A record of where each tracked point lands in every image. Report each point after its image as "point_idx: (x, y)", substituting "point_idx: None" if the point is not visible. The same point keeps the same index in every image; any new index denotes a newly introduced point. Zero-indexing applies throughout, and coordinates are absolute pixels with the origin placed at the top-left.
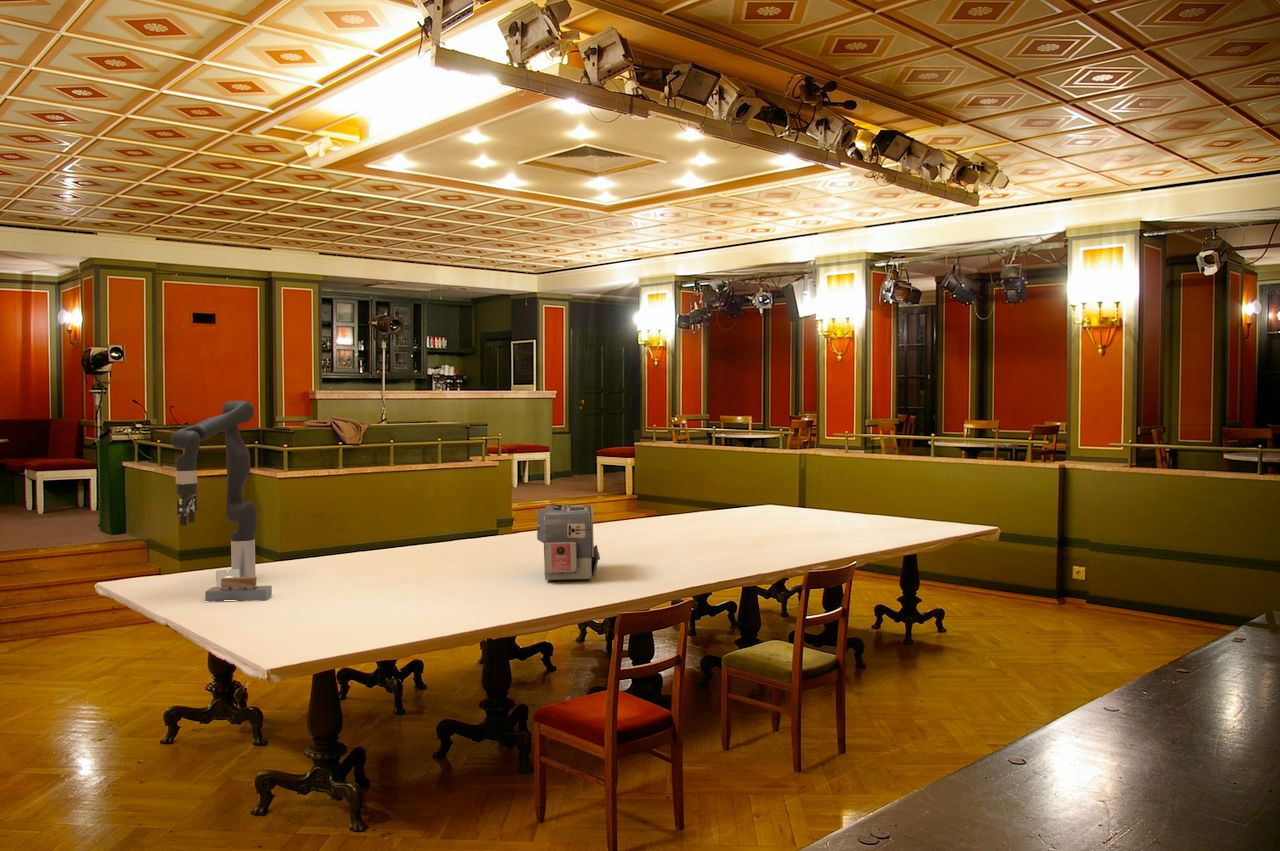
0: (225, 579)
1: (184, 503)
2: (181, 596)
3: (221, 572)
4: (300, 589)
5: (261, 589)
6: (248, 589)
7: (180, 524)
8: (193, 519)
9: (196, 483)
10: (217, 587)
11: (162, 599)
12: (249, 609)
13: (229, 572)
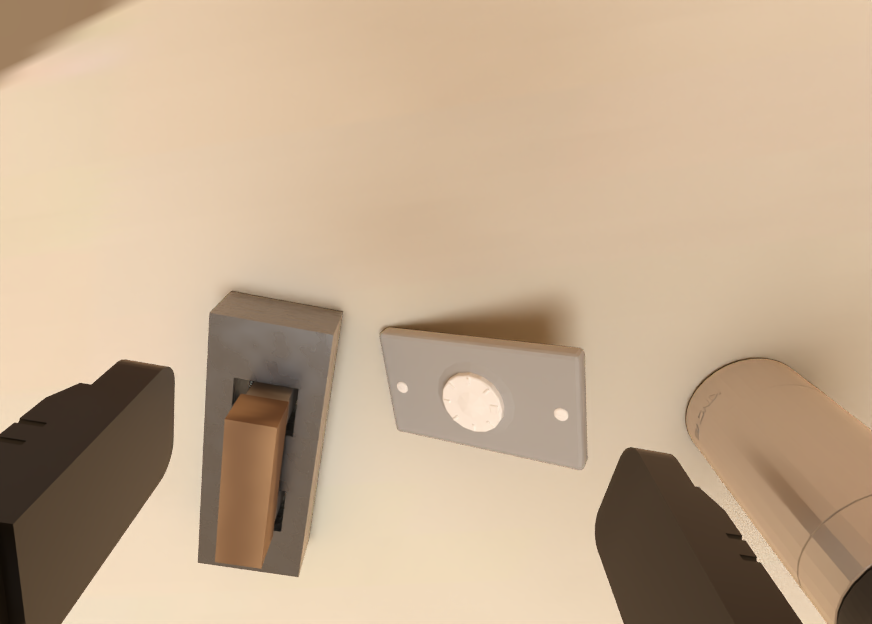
0: (224, 439)
1: None
2: (426, 140)
3: (552, 381)
4: (413, 619)
5: (211, 547)
6: None
7: (118, 367)
8: (612, 569)
9: None
10: (314, 361)
11: (368, 34)
12: None
13: (549, 419)
